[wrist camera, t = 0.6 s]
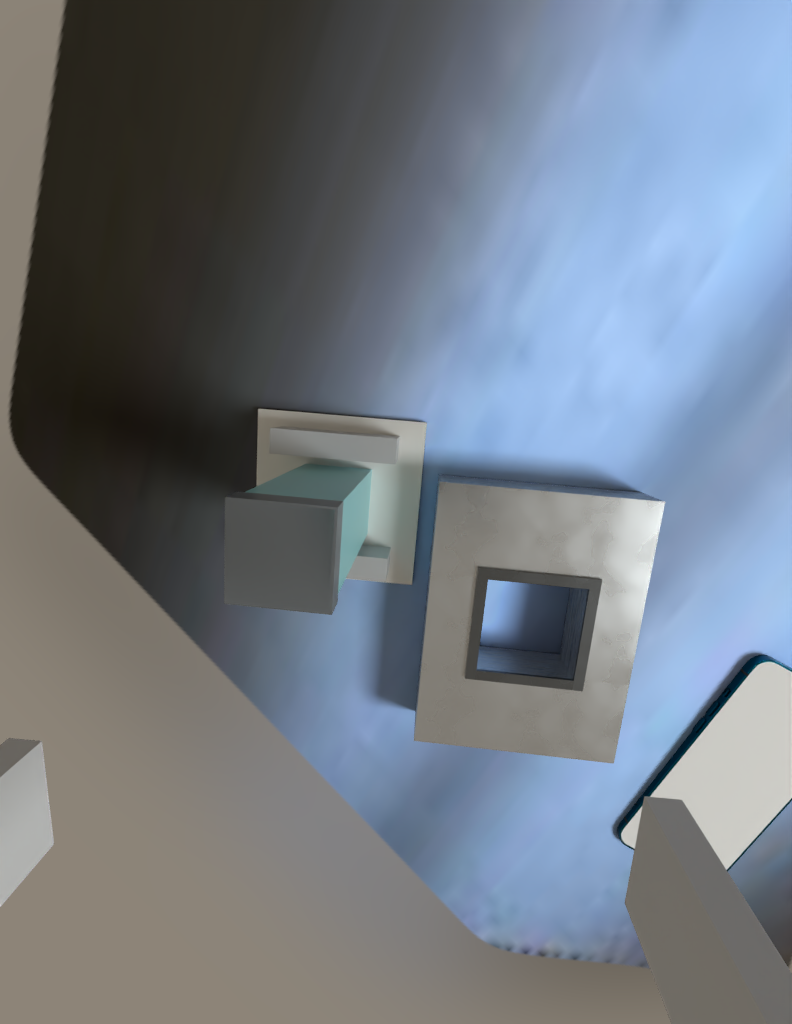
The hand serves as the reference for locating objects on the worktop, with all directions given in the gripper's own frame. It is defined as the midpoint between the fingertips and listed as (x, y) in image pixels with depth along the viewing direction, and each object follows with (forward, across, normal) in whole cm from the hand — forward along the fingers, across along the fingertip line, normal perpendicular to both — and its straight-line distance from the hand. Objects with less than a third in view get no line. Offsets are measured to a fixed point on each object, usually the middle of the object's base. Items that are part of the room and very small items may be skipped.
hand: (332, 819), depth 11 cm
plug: (+21, -4, +3) cm, 21 cm away
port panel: (+21, +8, -3) cm, 23 cm away
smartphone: (+22, +23, -14) cm, 34 cm away
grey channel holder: (+21, -4, +3) cm, 22 cm away
